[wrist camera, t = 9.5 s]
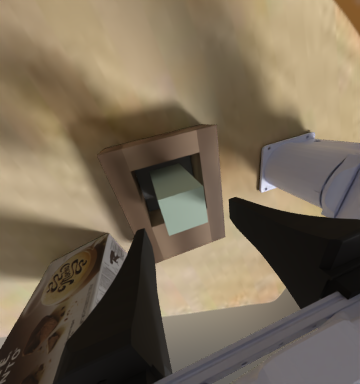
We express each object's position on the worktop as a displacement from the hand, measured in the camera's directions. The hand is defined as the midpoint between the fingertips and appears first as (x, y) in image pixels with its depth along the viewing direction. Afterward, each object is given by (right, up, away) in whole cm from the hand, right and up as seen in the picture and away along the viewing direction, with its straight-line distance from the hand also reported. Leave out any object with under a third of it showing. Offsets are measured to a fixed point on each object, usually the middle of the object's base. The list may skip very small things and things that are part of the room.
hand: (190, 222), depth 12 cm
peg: (-2, +4, +8) cm, 9 cm away
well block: (-2, +2, +10) cm, 10 cm away
